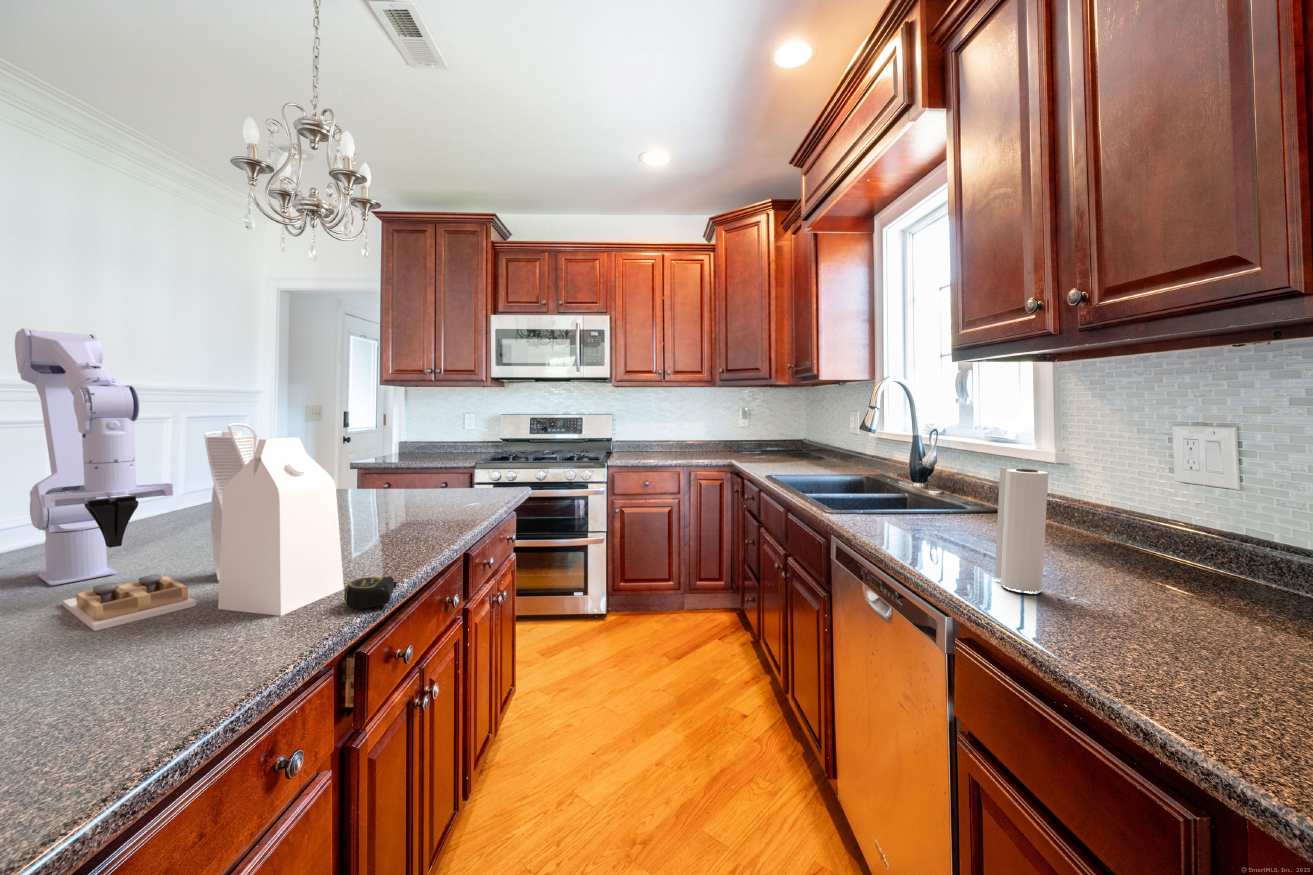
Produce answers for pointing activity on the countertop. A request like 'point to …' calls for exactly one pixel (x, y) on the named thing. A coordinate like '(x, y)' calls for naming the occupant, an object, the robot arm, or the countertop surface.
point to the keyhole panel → (131, 598)
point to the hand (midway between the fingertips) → (113, 545)
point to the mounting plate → (106, 596)
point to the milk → (279, 532)
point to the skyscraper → (225, 472)
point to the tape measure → (369, 592)
